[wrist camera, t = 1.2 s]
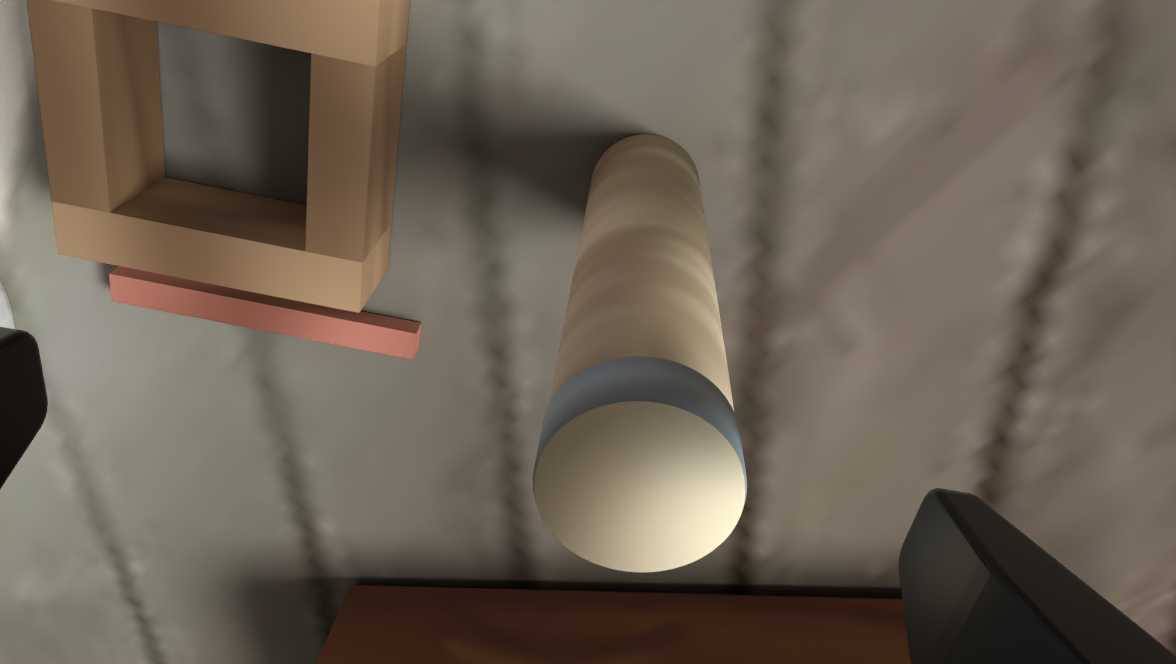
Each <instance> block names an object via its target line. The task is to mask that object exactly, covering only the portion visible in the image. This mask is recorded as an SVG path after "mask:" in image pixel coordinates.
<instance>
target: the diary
mask: <svg viewBox="0 0 1176 664" xmlns="http://www.w3.org/2000/svg"><path fill="white" fill-rule="evenodd" d="M316 664H911V660H910V653H909V645H908V638H907V630H906V622H905V615H904V607H903V600H902V599H894V598H854V597H814V596H775V595H735V594H695V593H655V592H616V591H576V590H536V589H496V588H457V587H417V586H377V585H353V586H349V588H348V591H347V593H346V595H345V598H344V600H343V602H342V605H341V607H340V609H339V612H338V614H337V616H336V619H335V621H334V623H333V626H332V628H331V630H330V633H329V635H328V637H327V640H326V642H325V644H324V647H323V649H322V651H321V654H320V656H319V658H318V661H317V663H316Z"/></svg>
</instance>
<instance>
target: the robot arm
mask: <svg viewBox="0 0 1176 664" xmlns="http://www.w3.org/2000/svg"><path fill="white" fill-rule="evenodd" d="M47 405H48V402H47V394H46V388H45V382H44V377H43V371H42V365H41V359H40V354H39V348H38V344H37V342H36V340H35V339H34V337H33V336H32V335H31V334H29V333H28V332H26V331H22V330H16V329H10V328H5V327H0V489H1V487H2V486H3V484H4V483H5V481H6V480H7V478H8V477H9V475H10V474H11V472H12V470H13V469H14V467H15V466H16V464H17V463H18V461H19V460H20V458H21V457H22V455H23V454H24V452H25V451H26V449H27V448H28V446H29V445H30V443H31V442H32V440H33V439H34V437H35V435H36V434H37V432H38V431H39V429H40V428H41V426H42V424H43V422H44V419H45V417H46V413H47ZM899 577H900V585H901V592H902V600H903V607H904V615H905V622H906V630H907V638H908V645H909V653H910V660H911V664H1176V655H1175V654H1173V653H1172V652H1171V651H1170V650H1168V649H1167V648H1166V647H1165V646H1163V645H1162V644H1161V643H1160V642H1158V641H1157V640H1156V639H1155V638H1153V637H1152V636H1151V635H1150V634H1148V633H1147V632H1146V631H1145V630H1143V629H1142V628H1141V627H1140V626H1138V625H1137V624H1136V623H1135V622H1133V621H1132V620H1131V619H1130V618H1128V617H1127V616H1126V615H1124V614H1123V613H1122V612H1121V611H1119V610H1118V609H1117V608H1116V607H1114V606H1113V605H1112V604H1111V603H1109V602H1108V601H1107V600H1106V599H1104V598H1103V597H1102V596H1101V595H1099V594H1098V593H1097V592H1096V591H1094V590H1093V589H1092V588H1091V587H1089V586H1088V585H1087V584H1086V583H1084V582H1083V581H1082V580H1081V579H1079V578H1078V577H1077V576H1076V575H1074V574H1073V573H1072V572H1071V571H1069V570H1068V569H1067V568H1066V567H1064V566H1063V565H1062V564H1061V563H1059V562H1058V561H1057V560H1056V559H1054V558H1053V557H1052V556H1051V555H1049V554H1048V553H1047V552H1046V551H1044V550H1043V549H1042V548H1041V547H1039V546H1038V545H1037V544H1036V543H1034V542H1033V541H1032V540H1031V539H1029V538H1028V537H1027V536H1026V535H1024V534H1023V533H1022V532H1021V531H1019V530H1018V529H1017V528H1016V527H1014V526H1013V525H1012V524H1011V523H1009V522H1008V521H1007V520H1006V519H1004V518H1003V517H1002V516H1001V515H999V514H998V513H997V512H996V511H994V510H993V509H992V508H991V507H989V506H988V505H987V504H986V503H984V502H983V501H982V500H981V499H979V498H978V497H977V496H975V495H973V494H970V493H965V492H959V491H953V490H947V489H941V488H936V489H933V490H931V491H929V492H928V494H927V495H926V496H925V498H924V499H923V501H922V503H921V506H920V508H919V510H918V512H917V514H916V517H915V519H914V521H913V523H912V525H911V528H910V530H909V532H908V534H907V536H906V539H905V541H904V543H903V545H902V548H901V552H900V556H899Z"/></svg>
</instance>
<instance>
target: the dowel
mask: <svg viewBox="0 0 1176 664" xmlns="http://www.w3.org/2000/svg"><path fill="white" fill-rule="evenodd" d="M533 491H534V496H535V500H536V504H537V507H538V510H539V513H540V515H541V517H542V519H543V521H544V523H545V525H546V526H547V528H548V529H549V530H550V532H551V533H552V534H553V535H554V536H555V537H556V538H557V539H558V540H559V541H560V542H561V543H562V544H563V545H564V546H565V547H567V548H568V549H569V550H570V551H572V552H573V553H575V554H577V555H578V556H580V557H582V558H584V559H586V560H588V561H590V562H592V563H595V564H598V565H600V566H603V567H607V568H611V569H615V570H620V571H627V572H658V571H664V570H670V569H674V568H678V567H681V566H684V565H687V564H689V563H692V562H694V561H696V560H698V559H700V558H702V557H704V556H706V555H707V554H708V553H710V552H711V551H713V550H714V549H716V548H717V547H718V546H719V545H720V544H721V543H722V542H723V541H724V540H725V539H726V538H727V537H728V536H729V535H730V533H731V532H732V530H733V529H734V527H735V526H736V524H737V522H738V520H739V518H740V516H741V513H742V510H743V507H744V503H745V500H746V493H747V479H746V470H745V464H744V458H743V451H742V445H741V438H740V432H739V426H738V422H737V418H736V415H735V413H734V408H733V401H732V394H731V388H730V381H729V374H728V368H727V361H726V355H725V348H724V341H723V335H722V328H721V322H720V315H719V308H718V302H717V295H716V288H715V282H714V275H713V269H712V262H711V255H710V249H709V242H708V236H707V229H706V222H705V216H704V209H703V202H702V196H701V189H700V183H699V177H698V172H697V169H696V166H695V164H694V162H693V160H692V159H691V157H690V156H689V154H688V153H687V152H686V151H685V150H684V149H683V148H682V147H681V146H679V145H678V144H677V143H675V142H673V141H672V140H670V139H667V138H665V137H662V136H658V135H652V134H640V135H633V136H630V137H627V138H624V139H622V140H620V141H618V142H616V143H615V144H613V145H612V146H611V147H609V148H608V149H607V150H606V151H605V152H604V153H603V155H602V156H601V157H600V159H599V160H598V162H597V164H596V166H595V169H594V172H593V175H592V180H591V185H590V190H589V196H588V201H587V206H586V211H585V217H584V222H583V227H582V232H581V238H580V243H579V248H578V254H577V259H576V264H575V269H574V275H573V280H572V285H571V290H570V296H569V301H568V306H567V311H566V317H565V322H564V327H563V332H562V338H561V343H560V348H559V353H558V359H557V364H556V369H555V374H554V380H553V385H552V390H551V395H550V401H549V406H548V409H547V411H546V414H545V418H544V421H543V426H542V431H541V436H540V441H539V446H538V451H537V456H536V462H535V467H534V474H533Z"/></svg>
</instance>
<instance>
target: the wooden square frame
mask: <svg viewBox="0 0 1176 664" xmlns="http://www.w3.org/2000/svg"><path fill="white" fill-rule="evenodd" d="M27 7H28V15H29V23H30V31H31V39H32V47H33V55H34V63H35V72H36V80H37V88H38V96H39V104H40V112H41V120H42V128H43V136H44V144H45V152H46V160H47V168H48V177H49V185H50V193H51V201H52V209H53V217H54V225H55V233H56V241H57V249H58V254H61V255H66V256H71V257H76V258H81V259H86V260H91V261H96V262H101V263H107V264H112V265H117V266H119V267H117V268H116V269H115V270H113V271H112V272H111V273H109V280H110V291H111V301H114V302H119V303H125V304H130V305H135V306H140V307H145V308H150V309H155V310H161V311H166V312H171V313H176V314H181V315H186V316H191V317H197V318H202V319H207V320H212V321H217V322H222V323H227V324H233V325H238V326H243V327H248V328H253V329H258V330H264V331H269V332H274V333H279V334H284V335H289V336H294V337H300V338H305V339H310V340H315V341H320V342H325V343H330V344H336V345H341V346H346V347H351V348H356V349H361V350H366V351H372V352H377V353H382V354H387V355H392V356H397V357H402V358H408V359H414V357H415V355H416V353H417V351H418V349H419V341H420V332H421V323H419V322H414V321H409V320H404V319H399V318H394V317H389V316H383V315H378V314H373V313H368V312H363V311H361V310H362V308H363V307H364V305H365V303H366V302H367V300H368V299H369V297H370V296H371V294H372V293H373V291H374V290H375V288H376V287H377V285H378V284H379V282H380V280H381V279H382V277H383V276H384V274H385V273H386V271H387V270H388V265H389V253H390V240H391V228H392V216H393V204H394V191H395V179H396V167H397V155H398V142H399V130H400V118H401V106H402V93H403V81H404V69H405V57H406V45H407V32H408V20H409V8H410V0H27ZM157 22H162V23H166V24H171V25H176V26H181V27H186V28H191V29H196V30H201V31H205V32H210V33H215V34H220V35H225V36H230V37H235V38H239V39H244V40H249V41H254V42H259V43H264V44H269V45H274V46H278V47H283V48H288V49H293V50H298V51H303V52H308V53H311V79H310V112H309V146H308V180H307V205H302V204H297V203H292V202H287V201H282V200H277V199H272V198H267V197H262V196H257V195H252V194H247V193H242V192H237V191H232V190H227V189H222V188H217V187H212V186H207V185H202V184H197V183H192V182H187V181H182V180H177V179H172V178H167V177H165V159H164V141H163V123H162V105H161V86H160V68H159V50H158V31H157Z"/></svg>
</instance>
